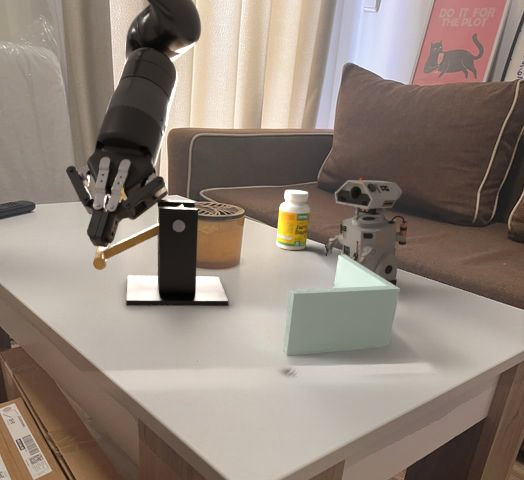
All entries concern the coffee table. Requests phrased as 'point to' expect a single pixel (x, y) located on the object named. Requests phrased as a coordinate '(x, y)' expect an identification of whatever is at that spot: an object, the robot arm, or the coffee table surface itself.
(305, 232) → the supplement bottle
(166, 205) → the bracket
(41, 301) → the coffee table surface
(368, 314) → the l-shaped corner panel
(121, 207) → the robot arm
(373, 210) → the figurine
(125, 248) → the tap lever
